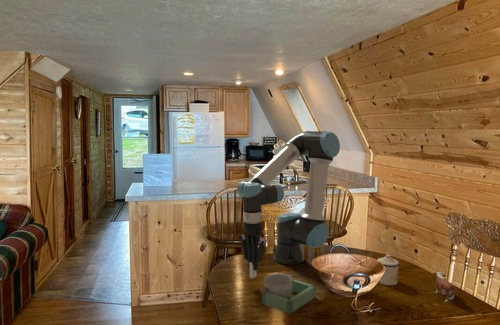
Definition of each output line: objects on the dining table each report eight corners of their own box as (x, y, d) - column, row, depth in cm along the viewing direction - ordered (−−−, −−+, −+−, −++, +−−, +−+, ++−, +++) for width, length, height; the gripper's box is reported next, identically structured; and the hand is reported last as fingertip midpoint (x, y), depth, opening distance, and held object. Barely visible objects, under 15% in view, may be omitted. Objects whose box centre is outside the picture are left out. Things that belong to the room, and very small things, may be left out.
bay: (288, 288, 159) (288, 274, 158) (315, 297, 151) (315, 282, 150) (261, 303, 145) (262, 288, 144) (289, 314, 137) (290, 298, 137)
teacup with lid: (400, 286, 162) (401, 259, 161) (378, 285, 163) (379, 258, 162) (393, 275, 174) (394, 250, 173) (372, 274, 175) (374, 249, 174)
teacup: (291, 305, 144) (291, 285, 143) (262, 303, 145) (262, 283, 144) (292, 290, 157) (293, 271, 157) (266, 288, 159) (266, 269, 158)
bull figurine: (441, 289, 160) (442, 270, 159) (456, 304, 146) (458, 283, 146) (430, 288, 160) (431, 269, 159) (444, 303, 147) (446, 283, 146)
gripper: (234, 220, 158) (235, 276, 161) (259, 226, 150) (260, 284, 153) (246, 217, 164) (246, 270, 167) (270, 221, 156) (271, 278, 158)
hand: (253, 276), depth 160 cm, fingers closed
